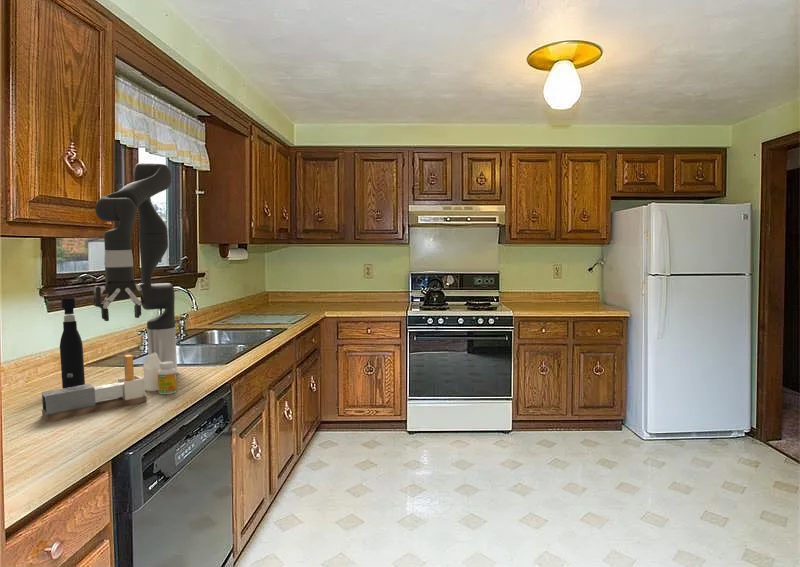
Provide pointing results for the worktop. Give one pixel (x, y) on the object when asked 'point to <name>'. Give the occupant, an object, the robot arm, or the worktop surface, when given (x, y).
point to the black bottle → (71, 348)
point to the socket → (133, 387)
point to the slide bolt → (116, 388)
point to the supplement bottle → (167, 378)
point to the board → (95, 408)
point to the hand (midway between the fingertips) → (122, 319)
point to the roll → (151, 372)
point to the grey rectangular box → (68, 399)
